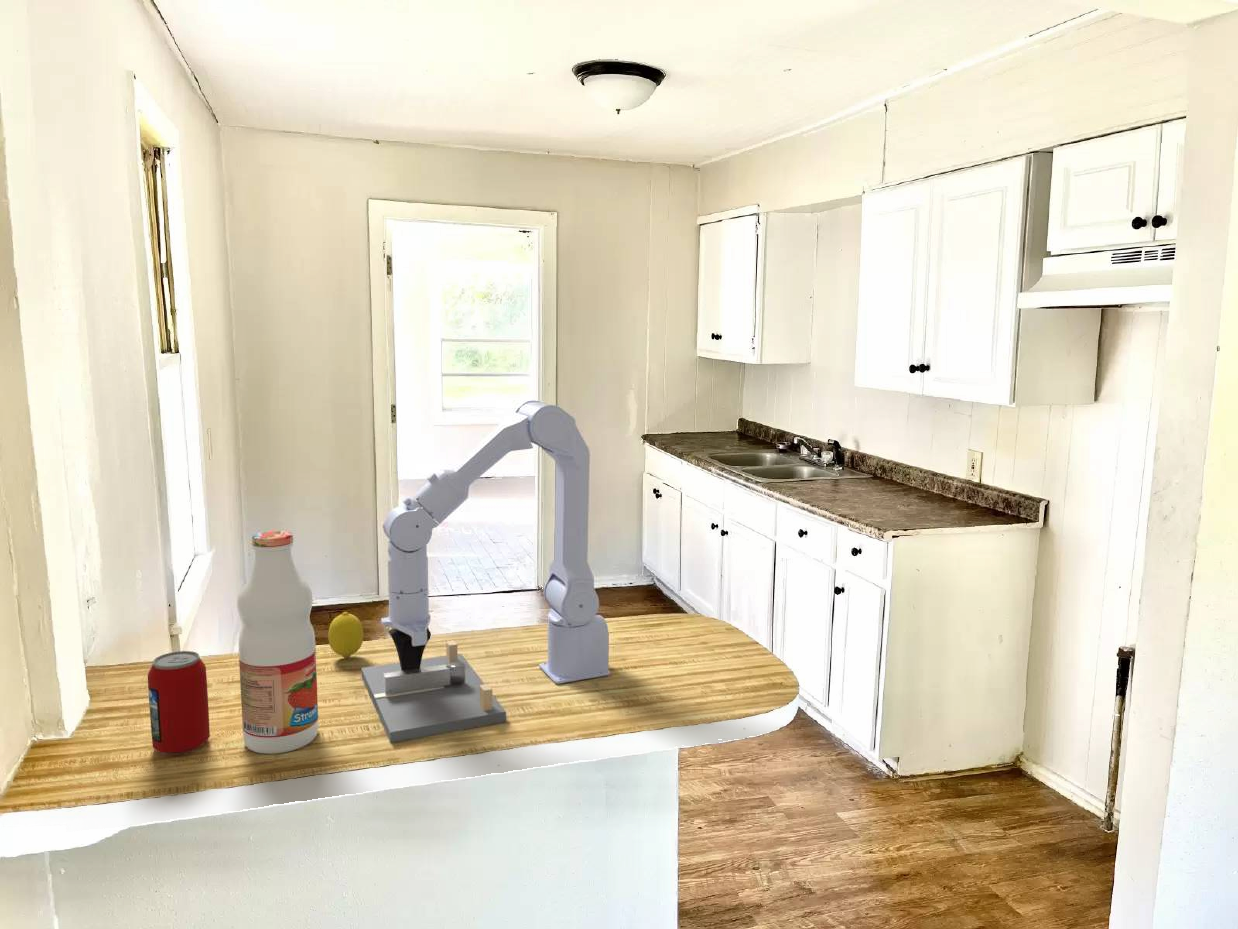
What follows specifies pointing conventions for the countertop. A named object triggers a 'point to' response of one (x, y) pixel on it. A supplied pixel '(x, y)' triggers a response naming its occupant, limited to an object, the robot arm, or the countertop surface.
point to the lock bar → (424, 677)
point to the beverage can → (178, 702)
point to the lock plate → (433, 702)
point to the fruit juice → (277, 651)
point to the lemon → (345, 635)
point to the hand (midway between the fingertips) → (410, 676)
